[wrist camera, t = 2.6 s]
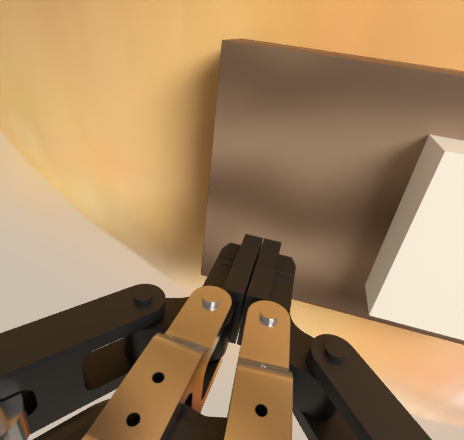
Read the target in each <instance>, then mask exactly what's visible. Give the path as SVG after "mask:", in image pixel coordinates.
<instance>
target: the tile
mask: <svg viewBox="0 0 464 440" xmlns="http://www.w3.org/2000/svg"><path fill="white" fill-rule="evenodd" d="M365 289H366V296H367V304H368V311H369V315H370V316H373V317H377V318H381V319H385V320H389V321H392V322H396V323H400V324H404V325H407V326H411V327H415V328H419V329H423V330H426V331H430V332H434V333H438V334H441V335H445V336H449V337H453V338H457V339H460V340H464V141H463V140H457V139H452V138H446V137H440V136H435V135H429V136H428V138H427V141H426V143H425V145H424V148H423V150H422V152H421V155H420V157H419V159H418V162H417V164H416V166H415V169H414V171H413V173H412V176H411V178H410V181H409V183H408V185H407V188H406V190H405V192H404V195H403V197H402V199H401V202H400V204H399V206H398V209H397V211H396V213H395V216H394V218H393V220H392V223H391V225H390V227H389V230H388V232H387V234H386V237H385V239H384V242H383V244H382V246H381V249H380V251H379V253H378V256H377V258H376V260H375V263H374V265H373V267H372V270H371V272H370V274H369V277H368V279H367V281H366V284H365Z"/></svg>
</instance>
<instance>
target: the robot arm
mask: <svg viewBox="0 0 464 440" xmlns="http://www.w3.org/2000/svg"><path fill="white" fill-rule="evenodd" d="M262 242H263V244H262ZM281 243H282V242H279V241H274V240H270V239H266V238H264V241H263V238H262V237H257V236H253V235H249V234H245V236H244V239H243V241H242V243H241V245H239V244H235V243H231V242H230V243H229V244H227V245H226V246H224V247H223V248H222V249H221V251H220V253H219V255H218V257H217V259H216V261H215V264H214V265H213V267H212V269H211V271H210V273H209V275H208V277H207V279H206V281H205V283H204V285H203V287H200V288H198V289H196V290H195V291H193V293H192V294H191V295H190V297H186V298H165V294H164V292H163V291H162V290H161V289H160V288H159V287H157V286H155V285H151V284H140V285H135V286H132V287H129V288H126V289H124V290H121V291H119V292H115V293H112V294H110V295H107V296H104V297H101V298H98V299H96V300H93V301H90V302H87V303H84V304H82V305H79V306H76V307H73V308H70V309H68V310H65V311H62V312H59V313H56V314H53V315H51V316H48V317H45V318H42V319H39V320H37V321H34V322H31V323H28V324H25V325H23V326H20V327H17V328H14V329H11V330H9V331H6V332H3V333H0V440H27V439H28V437H29V435H30V434H32V433H34V432H35V431H37V430H39V429H41V428H43V427H45V426H47V425H49V424H50V423H53V422H54V421H56V420H58V419H60V418H62V417H64V416H66V415H67V414H70V413H72V412H73V411H75V410H77V409H79V408H81V407H83V406H85V405H87V404H89V403H91V402H92V401H94V400H96V399H98V398H100V397H102V396H104V395H106V394H108V393H109V392H112V391H113V390H115V389H117V390H116V391H115V393H114V394H113V396H112V397H111V399H108V400H105V401H102V402H100V403H97V404H95V405H93V406H91V407H89V408H88V409H86V410H84V411H82V412H81V413H79V414H77V415H75V416H73V417H72V418H70V419H68V420H67V421H65V422H63V423H61V424H59V425H58V426H56V427H54V428H52V429H51V430H49V431H47V432H46V433H44V434H42V435H40V436H38V437H37V438H35V439H33V440H292V411H293V413H294V415H295V417H296V419H297V421H298V422H299V424H300V426H301V427H302V429H303V431H304V433H305V435H306V436H307V438H308V440H432V439H431V438H430V437H429V436H428V435H427V434H426V433H425V431H424V430H423V429H422V428H421V427H420V425H419V424H418V423H417V422H416V421H415V420H414V418H413V417H412V416H411V415H410V414H409V412H408V411H407V410H406V409H405V408H404V407H403V405H402V404H401V403H400V402H399V401H398V400H397V398H396V397H395V396H394V395H393V394H392V393H391V391H390V390H389V389H388V388H387V387H386V386H385V384H384V383H383V382H382V381H381V380H380V379H379V377H378V376H377V375H376V374H375V373H374V371H373V370H372V369H371V368H370V367H369V366H368V364H367V363H366V362H365V361H364V360H363V359H362V357H361V356H360V355H359V354H358V353H357V352H356V350H355V349H354V348H353V347H352V346H351V345H350V344H349V343H348V342H347V341H345V340H344V339H342V338H340V337H338V336H335V335H331V334H322V335H319V336H317V337H315V338H313V337H311V336H309V335H308V334H306V333H304V332H303V331H301V330H300V329H299V328H298V327H297V326H296V325H295V324H294V323H293V321H292V319H291V316H290V306H291V299H292V292H293V285H294V278H295V271H296V265H295V263H294V261H293V259H292V257H288V256H284V255H280V254H279V252H280V248H281ZM239 329H240V331H239ZM238 333H239V337H238V341H237V344H238V345H241V347H240V352H239V357H238V362H237V368H236V373H235V378H234V383H233V389H232V395H231V400H230V405H229V411H228V415H227V418H223V417H221V418H220V417H207V416H204V415H202V414H200V413H201V410H202V407H203V405H204V403H205V400H206V398H207V395H208V393H209V391H210V388H211V386H212V384H213V381H214V379H215V377H216V374H217V372H218V370H219V367H220V365H221V363H222V360H223V355H224V354H225V351H226V349H227V346H228V342H231V343H235V342H236V339H237V336H238ZM121 338H122V339H121ZM119 339H120V340H119ZM116 340H117V341H116ZM114 341H115V342H114ZM112 342H113V343H112ZM109 343H111V344H109ZM107 344H108V345H107ZM105 345H106V346H105ZM103 346H104V347H103ZM100 347H102V348H100ZM98 348H99V349H98ZM96 349H97V350H96ZM94 350H95V351H94ZM92 351H93V352H92Z"/></svg>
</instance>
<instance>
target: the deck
mask: <svg viewBox="0 0 464 440" xmlns="http://www.w3.org/2000/svg"><path fill="white" fill-rule="evenodd" d="M429 135H435V136H440V137H446V138H452V139H457V140H463V141H464V71H458V70H451V69H444V68H438V67H431V66H424V65H417V64H410V63H404V62H397V61H390V60H383V59H376V58H370V57H363V56H356V55H349V54H342V53H336V52H329V51H322V50H315V49H308V48H302V47H295V46H288V45H281V44H274V43H268V42H261V41H254V40H247V39H231V40H222V47H221V58H220V69H219V80H218V91H217V102H216V113H215V124H214V135H213V146H212V157H211V168H210V179H209V190H208V201H207V212H206V223H205V234H204V245H203V256H202V267H201V275H204V276H208V275H209V273H210V271H211V269H212V267H213V265H214V264H215V261H216V259H217V257H218V255H219V253H220V251H221V249H222V248H223V247H224V246H226V245H227V244H229V243H230V242H231V243H235V244H239V245H241V243H242V241H243V239H244V236H245V234H249V235H253V236H257V237H262V238H263V241H264V238H266V239H270V240H274V241H279V242H282V243H281V248H280V252H279V254H280V255H284V256H288V257H292V259H293V261H294V263H295V265H296V271H295V278H294V285H293V292H292V299H294V300H298V301H302V302H305V303H309V304H313V305H317V306H320V307H324V308H328V309H332V310H335V311H339V312H343V313H347V314H350V315H354V316H358V317H362V318H365V319H369V320H373V321H377V322H380V323H384V324H388V325H392V326H395V327H399V328H403V329H407V330H410V331H414V332H418V333H422V334H425V335H429V336H433V337H437V338H440V339H444V340H448V341H452V342H455V343H459V344H463V345H464V340H460V339H457V338H453V337H449V336H445V335H441V334H438V333H434V332H430V331H426V330H423V329H419V328H415V327H411V326H407V325H404V324H400V323H396V322H392V321H389V320H385V319H381V318H377V317H373V316H370V315H369V311H368V304H367V296H366V289H365V284H366V281H367V279H368V277H369V274H370V272H371V270H372V267H373V265H374V263H375V260H376V258H377V256H378V253H379V251H380V249H381V246H382V244H383V242H384V239H385V237H386V234H387V232H388V230H389V227H390V225H391V223H392V220H393V218H394V216H395V213H396V211H397V209H398V206H399V204H400V202H401V199H402V197H403V195H404V192H405V190H406V188H407V185H408V183H409V181H410V178H411V176H412V173H413V171H414V169H415V166H416V164H417V162H418V159H419V157H420V155H421V152H422V150H423V148H424V145H425V143H426V141H427V138H428V136H429ZM262 244H263V242H262Z"/></svg>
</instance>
